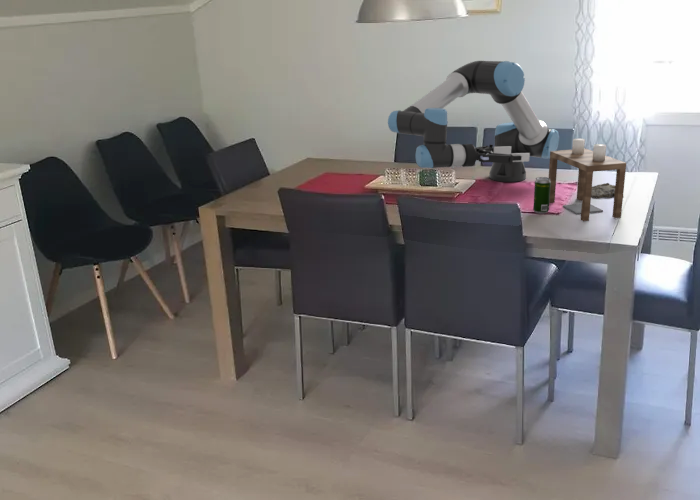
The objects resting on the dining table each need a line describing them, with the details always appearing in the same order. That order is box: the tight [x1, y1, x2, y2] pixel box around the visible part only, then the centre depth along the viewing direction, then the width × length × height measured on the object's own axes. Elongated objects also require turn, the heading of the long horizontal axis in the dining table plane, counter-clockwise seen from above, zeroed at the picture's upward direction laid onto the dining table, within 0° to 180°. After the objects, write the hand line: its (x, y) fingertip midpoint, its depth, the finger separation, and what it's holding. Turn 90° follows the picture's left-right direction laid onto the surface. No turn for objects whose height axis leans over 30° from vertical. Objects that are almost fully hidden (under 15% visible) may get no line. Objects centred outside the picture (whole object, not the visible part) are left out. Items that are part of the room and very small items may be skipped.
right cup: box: [592, 143, 607, 161], centre depth 242 cm, size 4×4×5 cm
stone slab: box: [591, 182, 615, 199], centre depth 274 cm, size 12×17×3 cm
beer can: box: [532, 176, 551, 215], centre depth 252 cm, size 5×5×12 cm
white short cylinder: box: [571, 137, 586, 155], centre depth 253 cm, size 4×4×5 cm
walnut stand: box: [548, 147, 627, 222], centre depth 252 cm, size 26×14×19 cm, turn 13°
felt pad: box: [562, 203, 604, 215], centre depth 255 cm, size 10×10×1 cm
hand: (519, 153), depth 245 cm, fingers open, 13 cm apart
